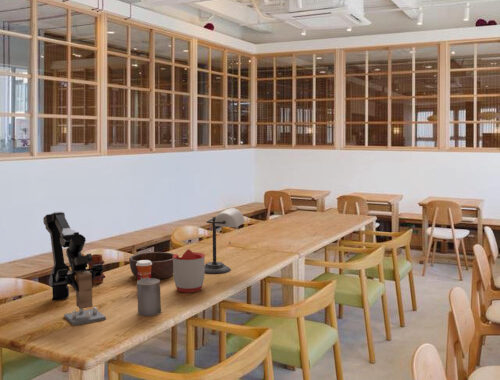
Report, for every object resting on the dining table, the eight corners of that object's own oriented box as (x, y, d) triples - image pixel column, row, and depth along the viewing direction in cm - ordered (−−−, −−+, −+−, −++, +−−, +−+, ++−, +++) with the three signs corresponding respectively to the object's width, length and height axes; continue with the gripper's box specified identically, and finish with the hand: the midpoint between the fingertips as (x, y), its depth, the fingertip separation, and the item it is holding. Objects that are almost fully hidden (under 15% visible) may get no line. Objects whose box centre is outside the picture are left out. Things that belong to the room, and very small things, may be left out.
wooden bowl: (124, 273, 308) (124, 254, 307) (169, 268, 319) (169, 250, 318) (135, 284, 286) (135, 264, 285) (183, 278, 296) (183, 259, 295)
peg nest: (64, 317, 236) (64, 308, 235) (95, 311, 243) (94, 302, 243) (74, 325, 225) (73, 316, 225) (105, 319, 232) (105, 310, 232)
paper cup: (137, 292, 270) (136, 263, 269) (135, 288, 278) (135, 260, 276) (153, 291, 273) (153, 262, 271) (152, 287, 280) (151, 259, 278)
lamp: (235, 277, 297) (234, 213, 293) (191, 275, 302) (190, 212, 299) (247, 265, 322) (247, 206, 319) (206, 263, 328) (205, 205, 324)
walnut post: (76, 305, 234) (75, 272, 233) (88, 303, 237) (87, 270, 235) (80, 308, 230) (79, 275, 228) (92, 306, 233) (91, 273, 231)
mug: (107, 280, 293) (106, 251, 291) (103, 284, 285) (102, 255, 283) (78, 280, 292) (77, 252, 291) (74, 285, 284) (73, 255, 283)
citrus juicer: (193, 282, 287) (192, 244, 285) (211, 290, 273) (211, 249, 271) (165, 288, 278) (164, 248, 276) (183, 296, 264) (182, 254, 262)
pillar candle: (150, 307, 248) (149, 273, 246) (165, 311, 242) (164, 277, 240) (133, 313, 241) (131, 278, 239) (148, 317, 234) (146, 282, 233)
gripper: (56, 250, 229) (65, 283, 221) (101, 245, 239) (111, 276, 232) (51, 265, 236) (60, 298, 228) (95, 259, 247) (105, 290, 239)
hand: (84, 290), depth 232 cm, fingers closed on walnut post, 5 cm apart
